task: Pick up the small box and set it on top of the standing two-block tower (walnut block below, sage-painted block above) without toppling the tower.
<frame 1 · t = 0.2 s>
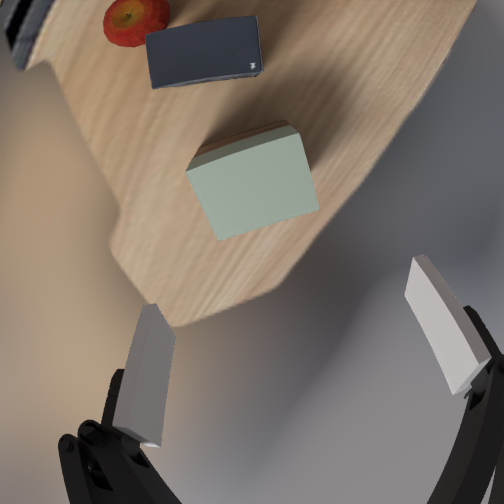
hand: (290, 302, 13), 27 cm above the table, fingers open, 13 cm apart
apple: (148, 24, 24), on the table
small box: (213, 58, 28), on the table
tower base: (251, 162, 37), on the table, touching tower top
tower top: (253, 174, 32), point 5 cm above the table, touching tower base
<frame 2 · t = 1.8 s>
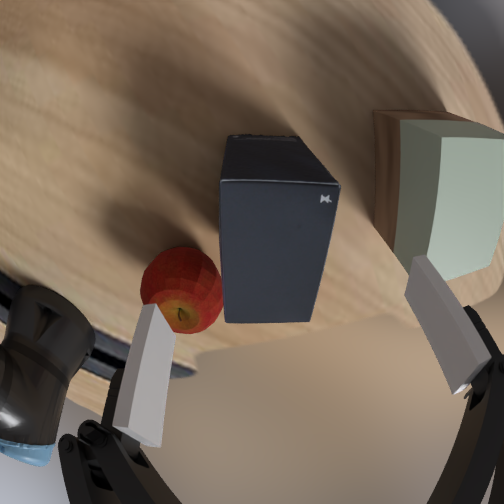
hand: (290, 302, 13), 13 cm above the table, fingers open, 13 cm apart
apple: (188, 262, 28), on the table
small box: (260, 191, 24), on the table
tower base: (411, 167, 23), on the table, touching tower top
tower top: (440, 187, 19), point 5 cm above the table, touching tower base
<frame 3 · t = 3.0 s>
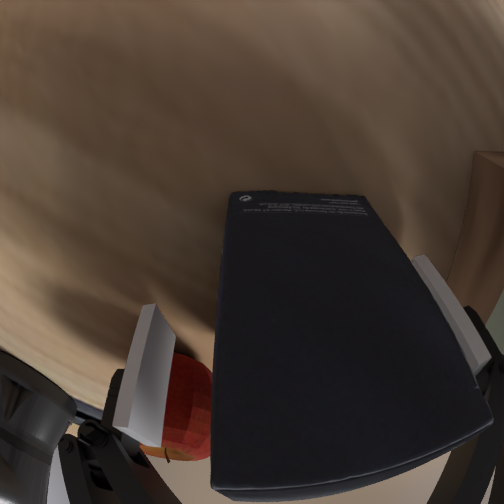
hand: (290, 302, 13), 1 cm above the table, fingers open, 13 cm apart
apple: (176, 360, 19), on the table
small box: (285, 281, 15), on the table
tower base: (496, 231, 13), on the table, touching tower top
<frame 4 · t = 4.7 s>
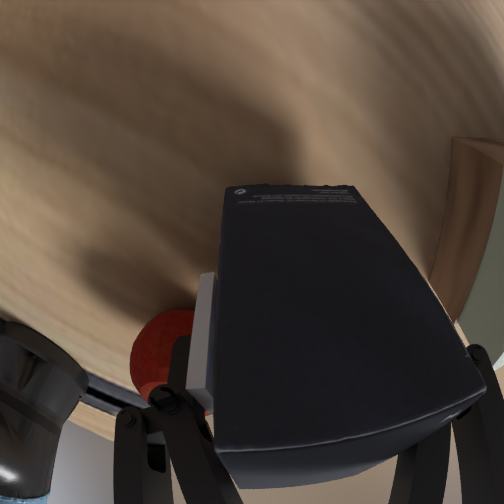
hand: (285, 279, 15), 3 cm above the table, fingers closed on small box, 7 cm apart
apple: (192, 322, 22), on the table
small box: (282, 271, 15), point 2 cm above the table, touching gripper
tower base: (481, 211, 16), on the table, touching tower top
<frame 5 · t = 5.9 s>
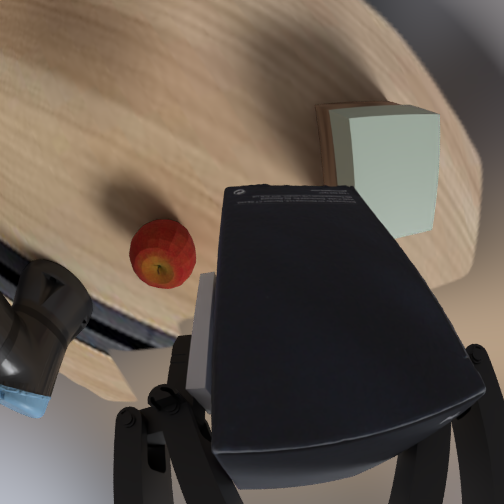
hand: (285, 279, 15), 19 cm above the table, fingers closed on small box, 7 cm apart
apple: (170, 233, 34), on the table
small box: (281, 271, 15), point 18 cm above the table, touching gripper
tower base: (356, 151, 29), on the table, touching tower top
tower top: (376, 163, 25), point 5 cm above the table, touching tower base
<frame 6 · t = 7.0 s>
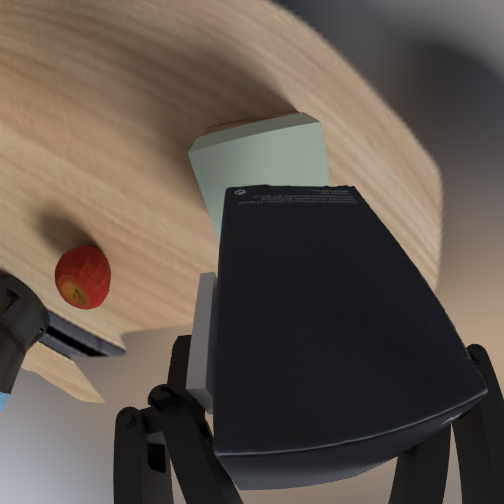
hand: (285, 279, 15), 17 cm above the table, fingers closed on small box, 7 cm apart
apple: (95, 257, 34), on the table
small box: (282, 272, 15), point 16 cm above the table, touching gripper
tower base: (263, 171, 28), on the table
tower top: (266, 187, 24), point 5 cm above the table
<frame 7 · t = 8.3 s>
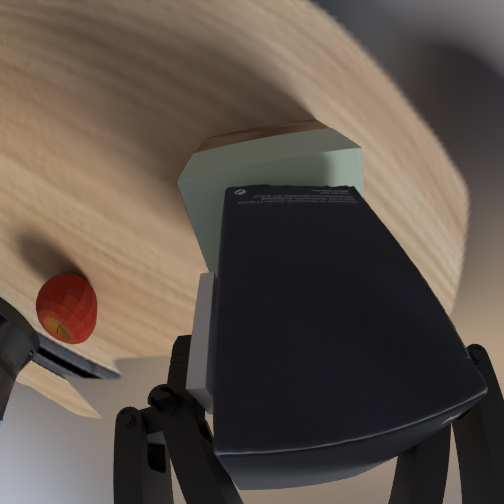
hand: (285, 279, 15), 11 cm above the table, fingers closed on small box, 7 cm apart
apple: (80, 284, 29), on the table
small box: (282, 271, 15), point 10 cm above the table, touching gripper
tower base: (272, 192, 24), on the table, touching tower top
tower top: (277, 219, 20), point 5 cm above the table, touching tower base
when the fingers open (11 cm above the table, at t = 8.6 s): small box moves 1 cm, resting on tower top.
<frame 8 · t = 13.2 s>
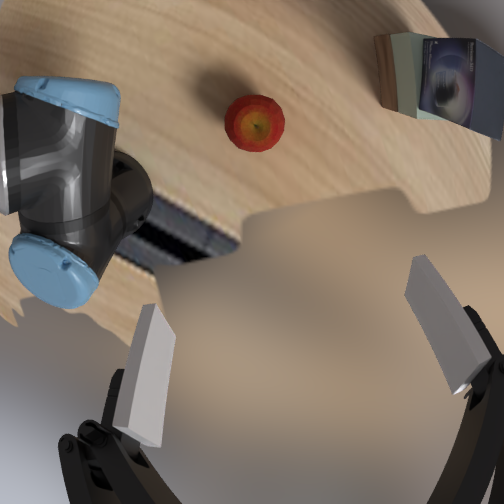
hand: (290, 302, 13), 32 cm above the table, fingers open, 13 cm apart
apple: (253, 118, 37), on the table
small box: (436, 78, 24), point 9 cm above the table, touching tower top
tower base: (401, 72, 32), on the table, touching tower top
tower top: (420, 75, 28), point 5 cm above the table, touching small box, tower base
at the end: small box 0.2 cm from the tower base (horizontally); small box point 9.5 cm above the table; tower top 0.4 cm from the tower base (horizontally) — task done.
